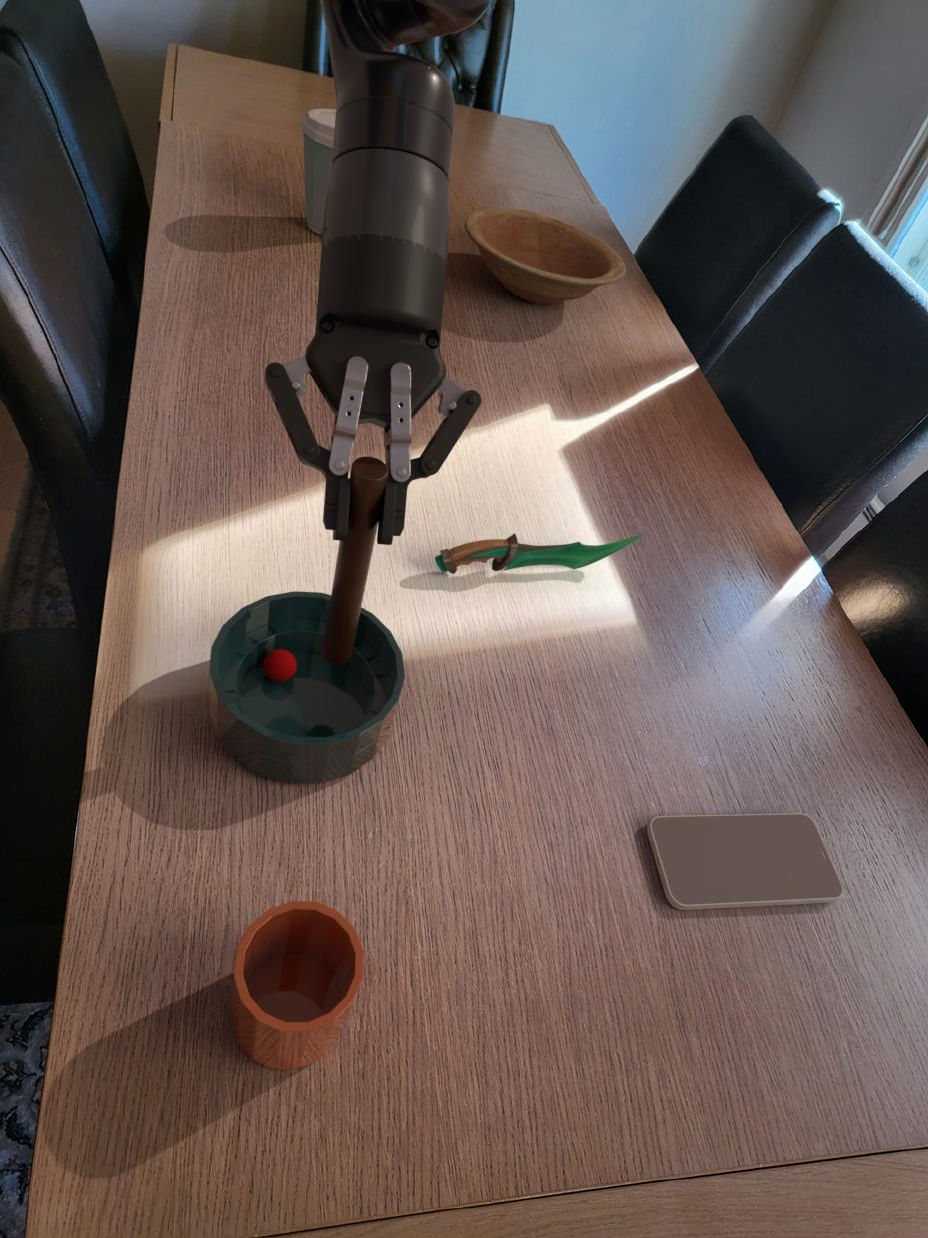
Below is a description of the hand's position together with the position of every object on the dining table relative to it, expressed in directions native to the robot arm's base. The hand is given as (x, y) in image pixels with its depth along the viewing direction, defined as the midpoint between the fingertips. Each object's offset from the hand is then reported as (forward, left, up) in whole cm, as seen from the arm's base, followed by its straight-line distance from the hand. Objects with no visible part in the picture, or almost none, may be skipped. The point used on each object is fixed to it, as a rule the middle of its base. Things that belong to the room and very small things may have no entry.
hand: (362, 541), depth 51 cm
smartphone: (+27, -22, -20) cm, 40 cm away
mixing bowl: (-1, +2, -20) cm, 20 cm away
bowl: (+55, +63, -20) cm, 86 cm away
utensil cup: (-9, -19, -20) cm, 29 cm away
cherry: (-2, +5, -18) cm, 19 cm away
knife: (+26, +11, -20) cm, 34 cm away
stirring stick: (+1, +2, -14) cm, 14 cm away
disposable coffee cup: (+30, +81, -20) cm, 88 cm away
